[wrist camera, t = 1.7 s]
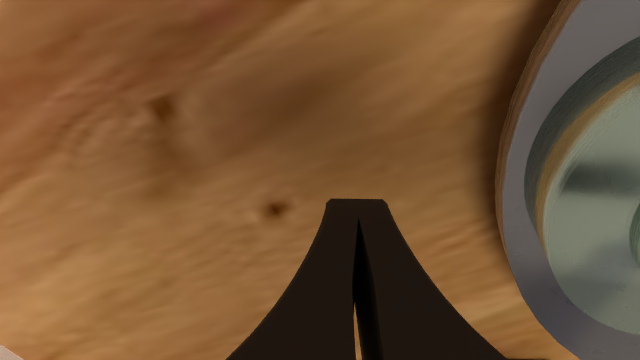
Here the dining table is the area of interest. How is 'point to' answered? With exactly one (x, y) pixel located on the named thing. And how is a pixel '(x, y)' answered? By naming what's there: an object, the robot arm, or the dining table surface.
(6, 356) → the medallion
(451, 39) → the dining table surface
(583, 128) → the cover
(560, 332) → the turntable platter
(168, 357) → the dining table surface
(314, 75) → the dining table surface
